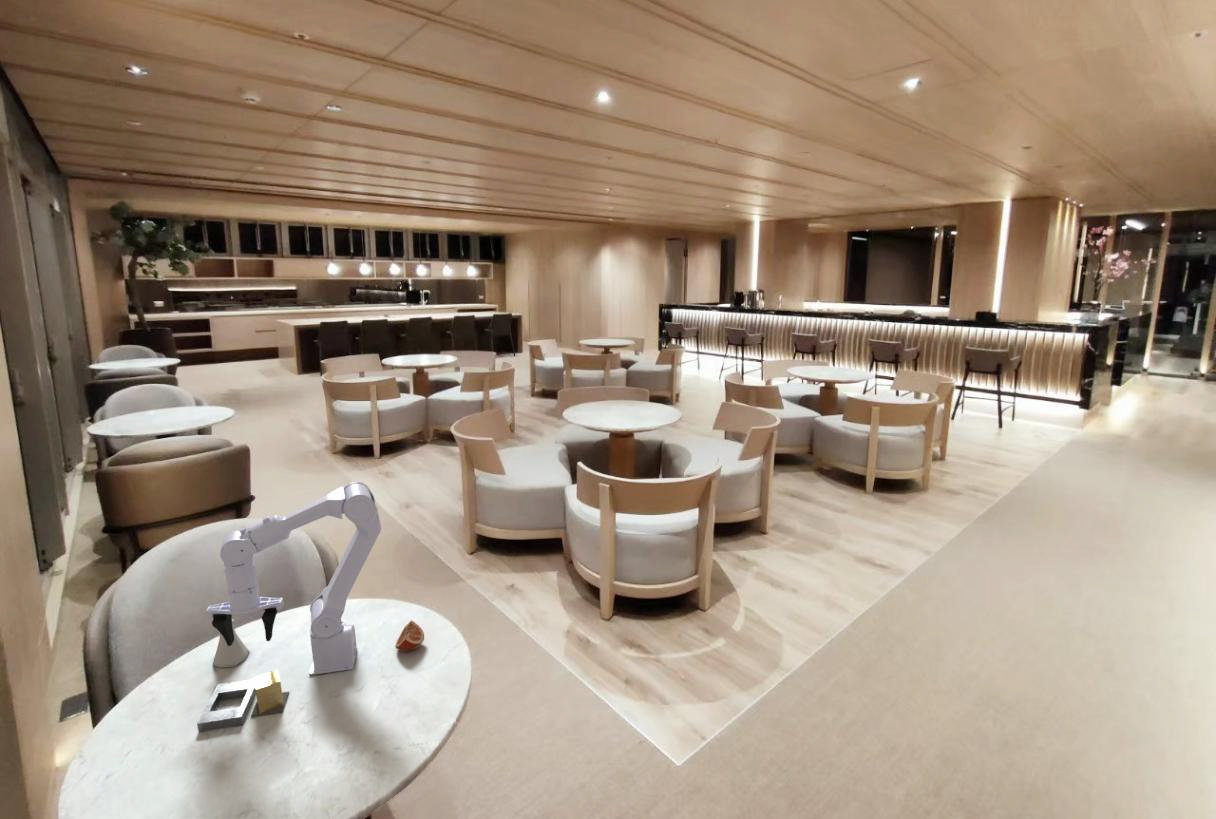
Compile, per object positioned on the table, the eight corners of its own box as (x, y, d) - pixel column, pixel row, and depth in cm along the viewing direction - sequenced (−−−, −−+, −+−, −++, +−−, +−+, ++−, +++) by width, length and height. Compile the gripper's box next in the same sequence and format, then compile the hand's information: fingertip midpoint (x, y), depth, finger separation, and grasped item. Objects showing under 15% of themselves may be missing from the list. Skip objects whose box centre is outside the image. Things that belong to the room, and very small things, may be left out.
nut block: (280, 693, 134) (277, 669, 132) (283, 705, 130) (280, 681, 129) (257, 701, 131) (253, 677, 130) (259, 714, 128) (256, 689, 126)
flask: (255, 650, 149) (250, 614, 146) (235, 670, 142) (229, 632, 139) (228, 648, 149) (222, 612, 147) (206, 667, 142) (199, 629, 140)
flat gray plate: (289, 693, 135) (289, 691, 134) (282, 712, 129) (282, 710, 129) (259, 697, 133) (258, 696, 133) (251, 717, 127) (250, 715, 127)
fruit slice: (400, 637, 155) (398, 620, 154) (427, 636, 156) (426, 618, 154) (392, 658, 147) (391, 640, 145) (421, 656, 147) (420, 638, 146)
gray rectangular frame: (259, 686, 137) (258, 678, 136) (242, 725, 125) (241, 716, 125) (218, 691, 135) (217, 684, 134) (198, 732, 123) (197, 723, 123)
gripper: (284, 573, 138) (290, 626, 141) (211, 580, 134) (219, 634, 137) (276, 589, 131) (282, 644, 135) (199, 597, 128) (208, 653, 131)
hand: (250, 640), depth 136 cm, fingers open, 7 cm apart
